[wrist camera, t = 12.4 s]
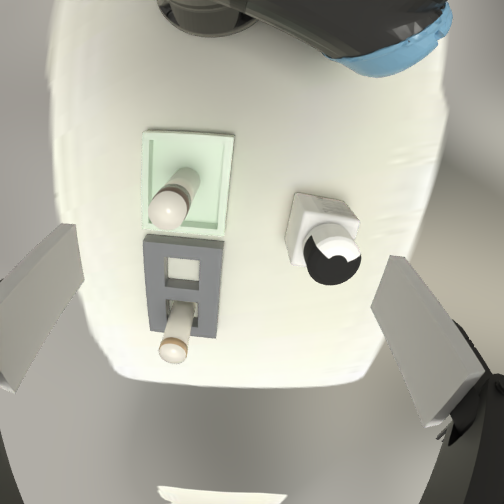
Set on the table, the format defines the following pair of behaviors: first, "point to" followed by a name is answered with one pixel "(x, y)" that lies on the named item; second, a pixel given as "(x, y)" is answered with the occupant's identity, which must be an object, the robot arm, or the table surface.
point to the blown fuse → (174, 199)
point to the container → (323, 238)
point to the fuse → (177, 332)
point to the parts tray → (199, 159)
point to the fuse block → (183, 281)
